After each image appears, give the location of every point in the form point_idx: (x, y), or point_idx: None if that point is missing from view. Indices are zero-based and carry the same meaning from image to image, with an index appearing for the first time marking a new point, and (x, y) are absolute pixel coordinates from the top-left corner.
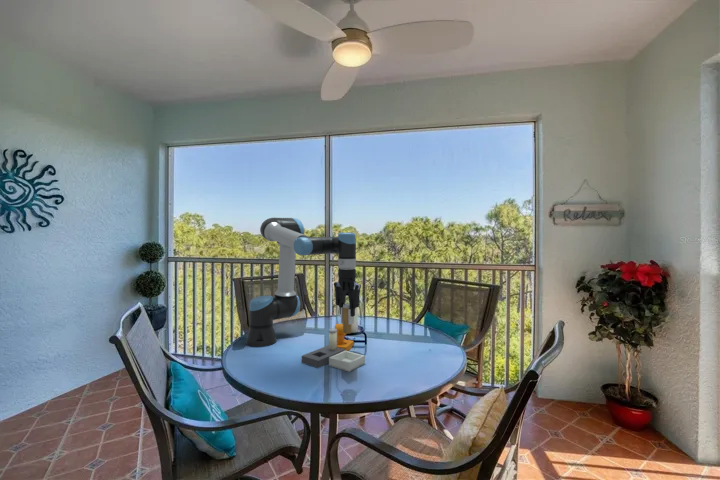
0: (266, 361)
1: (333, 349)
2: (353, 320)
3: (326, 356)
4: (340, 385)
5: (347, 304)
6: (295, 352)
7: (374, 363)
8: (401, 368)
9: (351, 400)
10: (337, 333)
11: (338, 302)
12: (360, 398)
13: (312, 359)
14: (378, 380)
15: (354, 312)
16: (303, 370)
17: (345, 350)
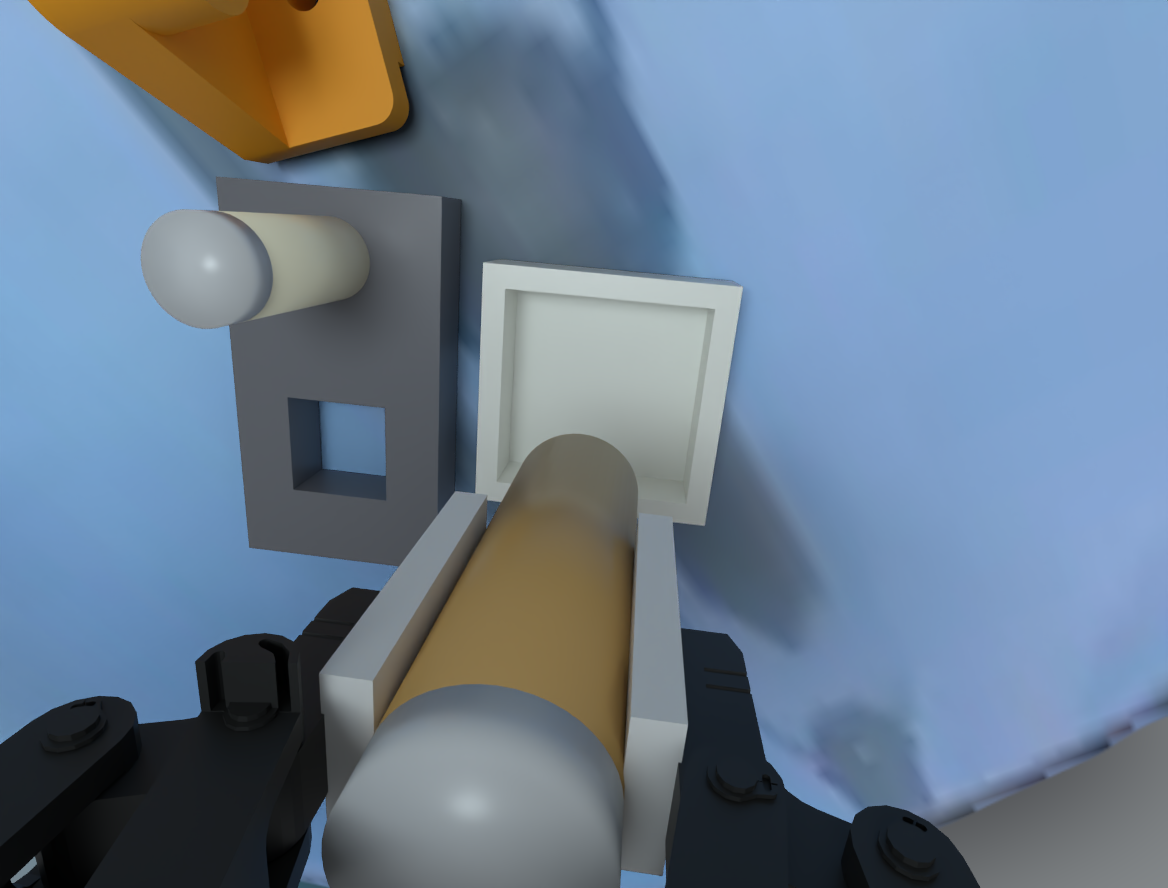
0: (81, 619)
1: (358, 288)
2: (673, 549)
3: (424, 462)
4: (759, 692)
5: (478, 875)
6: (65, 377)
7: (811, 223)
8: (1110, 194)
9: (916, 806)
10: (176, 62)
11: (86, 873)
12: (957, 771)
13: (374, 561)
14: (979, 519)
15: (748, 714)
16: None
17: (403, 120)
